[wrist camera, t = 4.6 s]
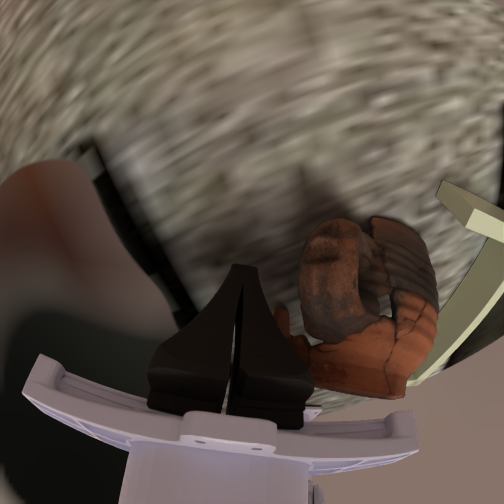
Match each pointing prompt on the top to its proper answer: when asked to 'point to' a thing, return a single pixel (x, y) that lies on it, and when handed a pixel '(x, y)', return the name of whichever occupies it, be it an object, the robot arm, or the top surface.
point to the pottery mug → (364, 307)
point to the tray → (468, 277)
